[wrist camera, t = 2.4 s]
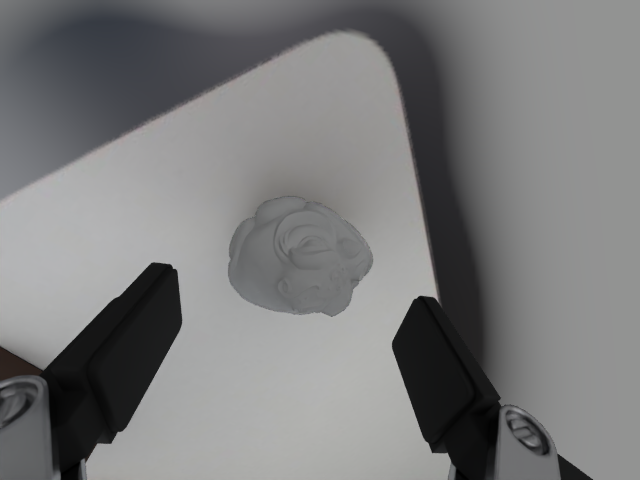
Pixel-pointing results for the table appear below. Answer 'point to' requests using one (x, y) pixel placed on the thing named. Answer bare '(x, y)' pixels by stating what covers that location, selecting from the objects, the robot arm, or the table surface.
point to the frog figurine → (297, 258)
